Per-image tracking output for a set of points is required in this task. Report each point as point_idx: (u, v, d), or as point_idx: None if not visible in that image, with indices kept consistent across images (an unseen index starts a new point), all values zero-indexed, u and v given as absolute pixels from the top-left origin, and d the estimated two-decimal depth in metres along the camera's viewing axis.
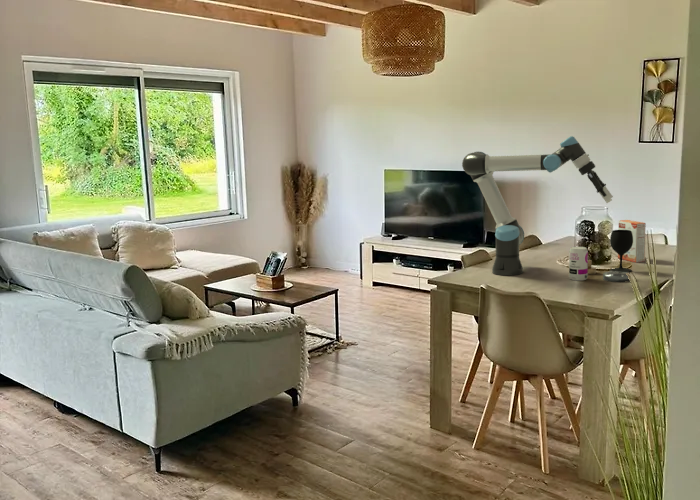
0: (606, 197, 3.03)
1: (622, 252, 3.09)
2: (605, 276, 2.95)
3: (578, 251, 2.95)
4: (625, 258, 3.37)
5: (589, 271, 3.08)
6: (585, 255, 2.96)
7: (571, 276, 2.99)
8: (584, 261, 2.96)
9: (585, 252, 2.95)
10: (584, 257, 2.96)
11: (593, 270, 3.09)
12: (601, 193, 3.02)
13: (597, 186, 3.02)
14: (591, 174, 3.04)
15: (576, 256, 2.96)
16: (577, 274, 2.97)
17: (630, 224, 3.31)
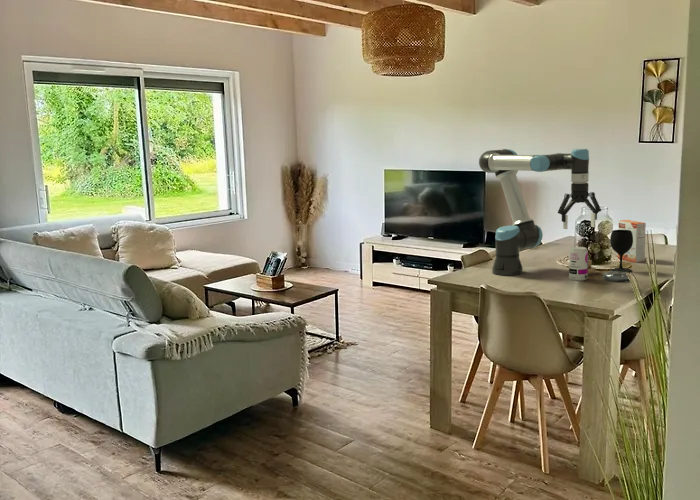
0: (564, 223, 2.96)
1: (622, 252, 3.09)
2: (605, 276, 2.95)
3: (578, 251, 2.95)
4: (625, 258, 3.37)
5: (589, 271, 3.08)
6: (585, 255, 2.96)
7: (571, 276, 2.99)
8: (584, 261, 2.96)
9: (585, 252, 2.95)
10: (584, 257, 2.96)
11: (593, 270, 3.09)
12: None
13: (560, 209, 2.94)
14: (566, 195, 2.93)
15: (576, 256, 2.96)
16: (577, 274, 2.97)
17: (630, 224, 3.31)
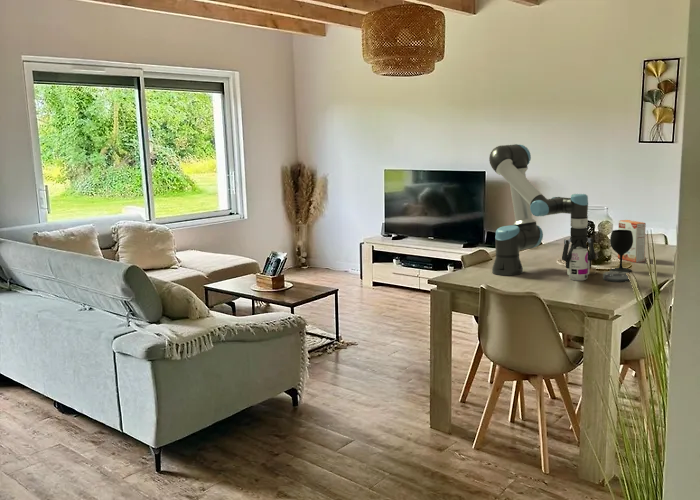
0: (568, 269, 3.00)
1: (622, 252, 3.09)
2: (605, 276, 2.95)
3: (578, 251, 2.95)
4: (625, 258, 3.37)
5: (589, 271, 3.08)
6: (585, 255, 2.96)
7: (571, 276, 2.99)
8: (584, 261, 2.96)
9: (585, 252, 2.95)
10: (584, 257, 2.96)
11: (593, 270, 3.09)
12: None
13: (563, 256, 2.99)
14: (565, 242, 2.97)
15: (576, 256, 2.96)
16: (577, 274, 2.97)
17: (630, 224, 3.31)
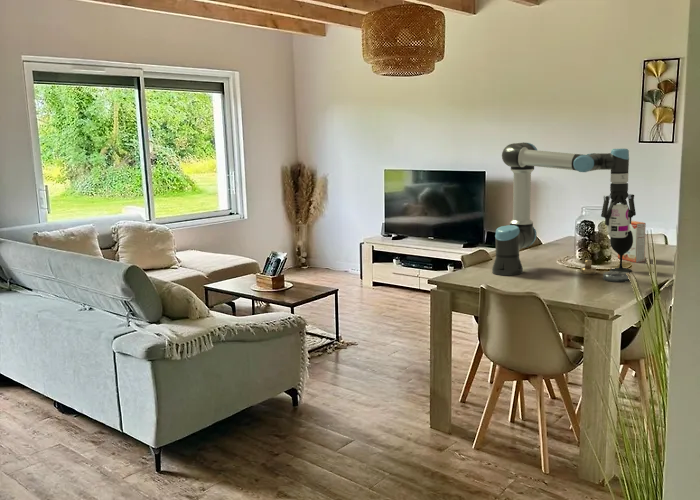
0: (608, 227, 2.92)
1: (622, 252, 3.09)
2: (605, 276, 2.95)
3: (618, 207, 2.87)
4: (625, 258, 3.37)
5: (589, 271, 3.08)
6: (626, 212, 2.88)
7: (611, 233, 2.92)
8: (625, 217, 2.88)
9: (626, 208, 2.88)
10: (625, 213, 2.88)
11: (593, 270, 3.09)
12: (605, 220, 2.92)
13: (602, 212, 2.91)
14: (605, 198, 2.89)
15: (617, 212, 2.88)
16: (617, 231, 2.89)
17: (630, 224, 3.31)
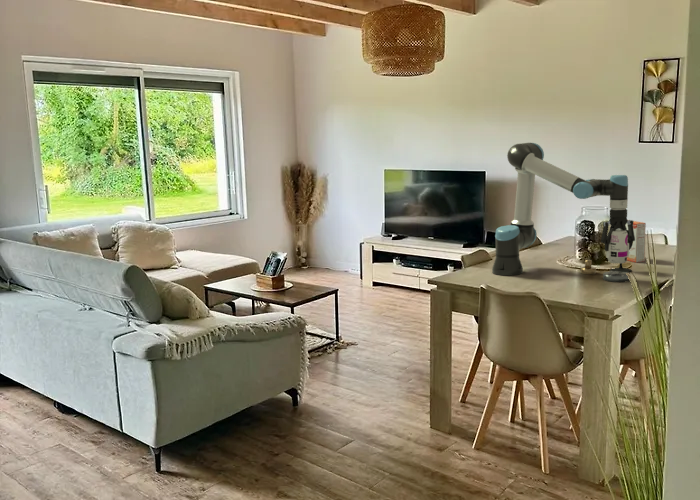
0: (607, 252, 2.94)
1: None
2: (605, 276, 2.95)
3: (617, 233, 2.90)
4: None
5: (589, 271, 3.08)
6: (625, 237, 2.90)
7: (610, 259, 2.94)
8: (624, 243, 2.90)
9: (625, 234, 2.90)
10: (624, 239, 2.90)
11: (593, 270, 3.09)
12: None
13: (602, 238, 2.93)
14: (605, 224, 2.91)
15: (616, 238, 2.90)
16: (617, 257, 2.91)
17: None
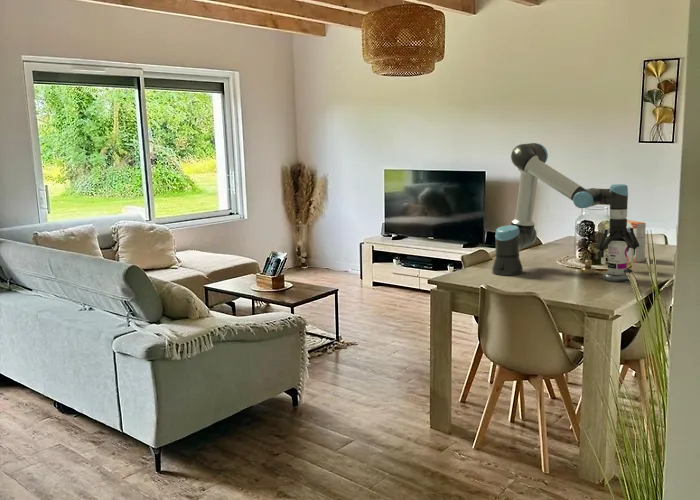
0: (602, 258, 2.94)
1: None
2: (605, 276, 2.95)
3: (617, 245, 2.91)
4: None
5: (589, 271, 3.08)
6: (625, 250, 2.91)
7: (610, 270, 2.95)
8: (624, 255, 2.91)
9: (625, 246, 2.91)
10: (624, 251, 2.91)
11: (593, 270, 3.09)
12: None
13: (598, 244, 2.93)
14: (604, 231, 2.92)
15: (616, 250, 2.91)
16: (616, 269, 2.92)
17: (630, 224, 3.31)
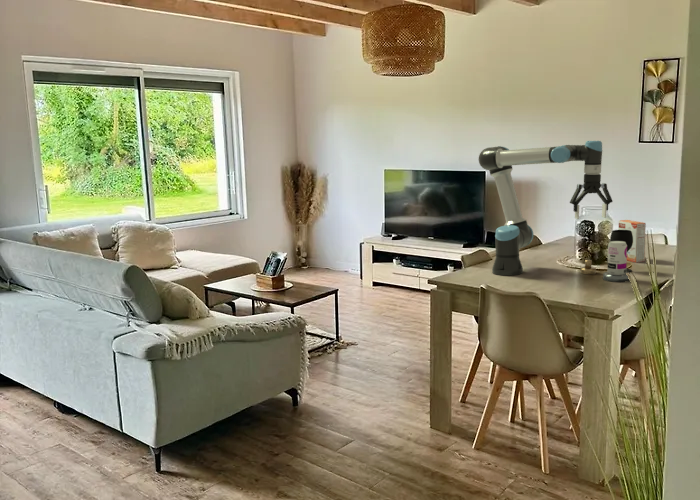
0: (576, 213, 3.03)
1: None
2: (605, 276, 2.95)
3: (617, 245, 2.91)
4: None
5: (589, 271, 3.08)
6: (625, 250, 2.91)
7: (610, 271, 2.95)
8: (623, 255, 2.91)
9: (624, 246, 2.91)
10: (623, 251, 2.91)
11: (593, 270, 3.09)
12: None
13: (572, 199, 3.02)
14: (578, 186, 3.00)
15: (616, 250, 2.91)
16: (616, 269, 2.92)
17: (630, 224, 3.31)
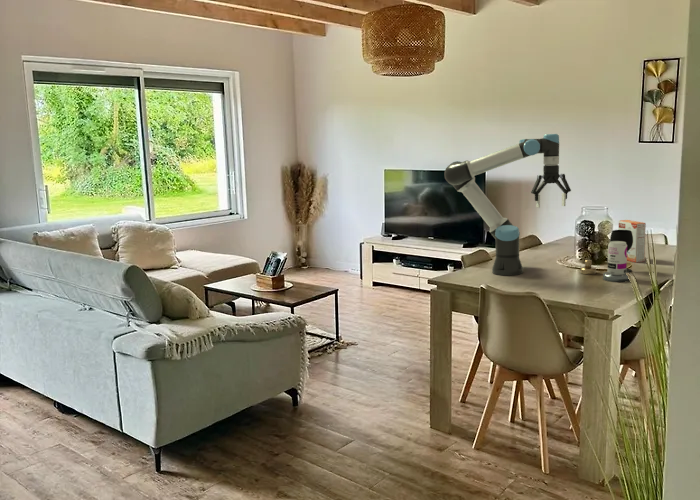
0: (537, 202, 3.23)
1: None
2: (605, 276, 2.95)
3: (617, 245, 2.91)
4: None
5: (589, 271, 3.08)
6: (625, 250, 2.91)
7: (610, 271, 2.95)
8: (623, 255, 2.91)
9: (625, 246, 2.91)
10: (623, 251, 2.91)
11: (593, 270, 3.09)
12: None
13: (533, 189, 3.21)
14: (538, 176, 3.20)
15: (616, 250, 2.91)
16: (616, 269, 2.92)
17: (630, 224, 3.31)
